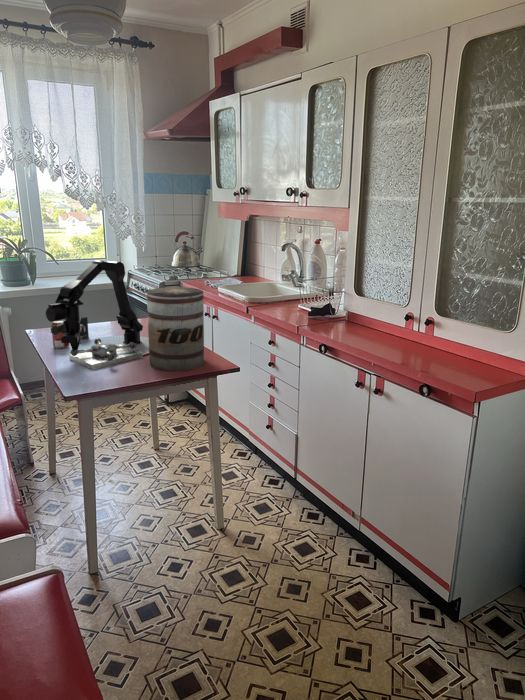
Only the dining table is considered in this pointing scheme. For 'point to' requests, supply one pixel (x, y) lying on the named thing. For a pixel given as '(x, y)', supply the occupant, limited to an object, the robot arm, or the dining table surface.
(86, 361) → the stand
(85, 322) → the small box
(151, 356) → the barrel
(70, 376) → the dining table surface
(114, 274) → the robot arm
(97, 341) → the capstan
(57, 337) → the soda can
